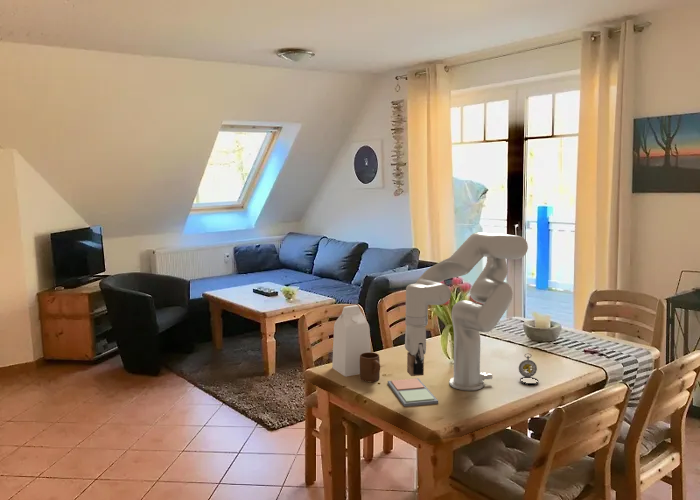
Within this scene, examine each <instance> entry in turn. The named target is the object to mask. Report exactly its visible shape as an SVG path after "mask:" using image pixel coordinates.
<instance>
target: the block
mask: <svg viewBox="0 0 700 500" xmlns="http://www.w3.org/2000/svg"><path fill="white" fill-rule="evenodd" d="M417 354H419V352H417ZM406 357H407V361H406V362H407V365H406V367H407V368H406V369H407V370H406V371H407V373H408V375H410V376H411V377H417V376H418V377H419V376H425V375H424V373H425V372H424V370H425V368H424V366H425V358H424V359H423V374H416V375H414V374H413V364H414V363H415V362H414V355H411V354H410V353H409V352H408V351H407V356H406ZM418 357H419V356H417V358H418Z"/></svg>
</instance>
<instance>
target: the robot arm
mask: <svg viewBox="0 0 700 500" xmlns="http://www.w3.org/2000/svg"><path fill="white" fill-rule="evenodd" d="M528 249H529V246H528V241H527V240H526V239H525V237H523V236H520V235H515V234H514V235H513V234H506V233H487V232H480V231H479V232H475V233H472V234H471V235H470V236H469V237H468V238H466V240H465V241H463V243H462V244H461V245H460V246H459V248H457V249H456V251H455V252H454V253H452V255H451V256H450V257H448V258H445V259H443V260H441V261H439V262H437V263H436V264H434V265H432V266H430V267H429V268H427V269H426V270H425V271H424V272H423V273H422V274H421V275H420V277H418V279H417V280H416V282H415V283H410V284H408V285H407V286H406V287H405V322H404V323H405V334H404V336H405V337H404V348H405V350H406V351H407V352H409V353H410V354H411V355H414V362H415V363H414V364H413V374H414V375H416V374H423V359H424V360H425V355H426V354H427V353H426V352H427V331H426V330H427V329H426V327H427V326H428V319H429V318H428V314H429V311H428V310H429V306H430V305H433V306H441V305H444V304H446V303H448V301H450V299H451V296H452V293H451V289H450V287H449V286H448V285H447V284H445V283H442V282H444V281H446V280H448V279H449V280H450V279H453V278H457V277H458V278H459V277H462V276H466V275H468V274H469V273H470V272H471V271H472V270H473V269H474V267H476V266H477V264H479V262H480V261H481V260H482V259H483V258H485V257H486V264H485V266H484V268H483V270H482V271H481V272H480V274H479V275H478V277H477V278H476V280H475V281H474V283H473V284H472V286H471V288H470V291H469V294H470V295H469V296H470V297H471V299H472V300H473V301H471V300H466V299H465V300H464V299H462V300H459V301H457V302H455V304H454V305H453V306H452V309H451V320H452V321H451V322H452V327H453V377H451V378H450V379H449V381H448V383H449V385H450V387H452V388H454V389H456V390H460V391H470V392H471V391H478V390H481V389H482V388H483V387H484V386H485V383H484V381H485V380H492V379H493V374H492V373H486V372H481V335H480V332H481V333H489V332H492V330H493V329H495V327H496V326H497V325H498V323H499V322H500V321H501V319H502V317H503V316H504V315H505V313H506V311H507V310H508V308H509V307H510V304H511V303H512V300H513V296H514V295H513V289H512V287H511V286H510V284H509V283H507V282H505V280H506V278H507V276H508V272H509V271H508V270H509V269H508V263H507V260H520V259H522V258H524V256H526V254H527V253H528ZM417 352H419V354H417ZM417 356H419V357H418V358H417Z"/></svg>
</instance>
